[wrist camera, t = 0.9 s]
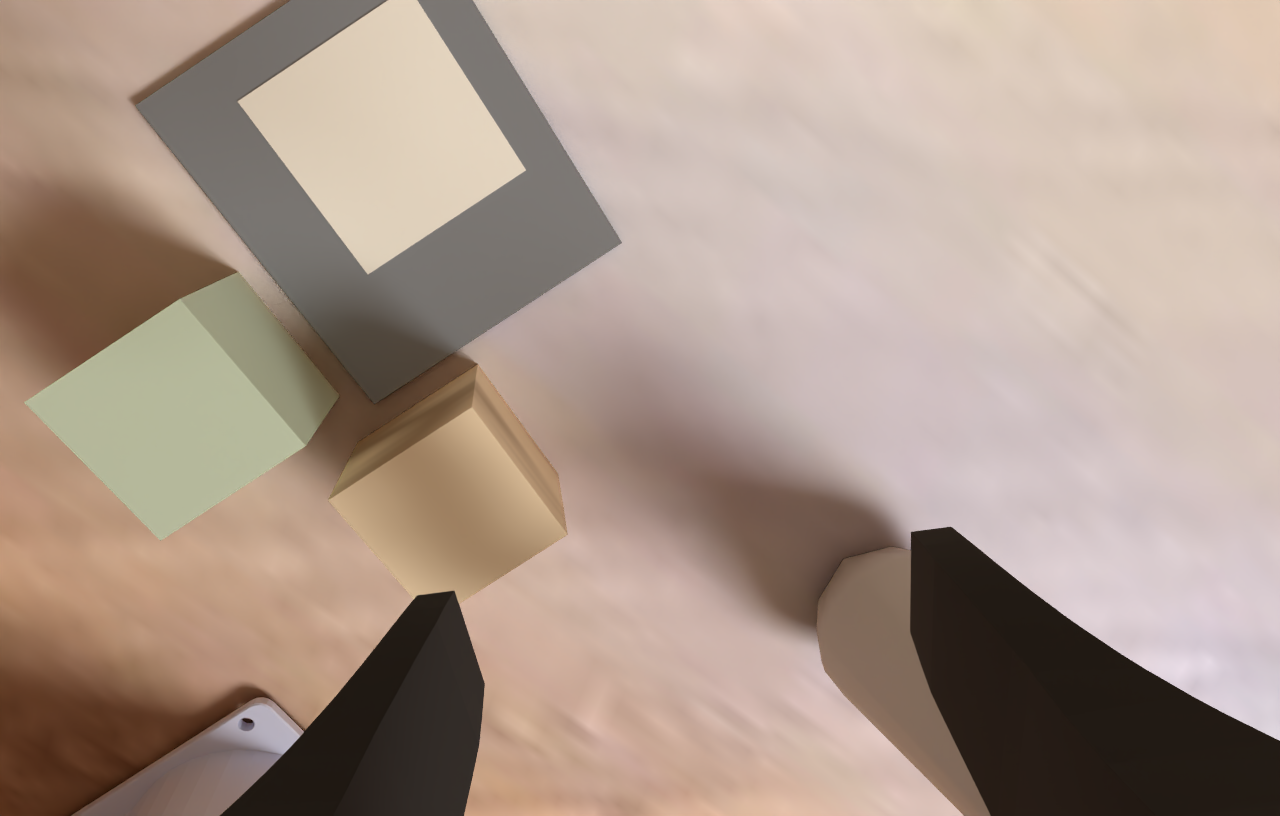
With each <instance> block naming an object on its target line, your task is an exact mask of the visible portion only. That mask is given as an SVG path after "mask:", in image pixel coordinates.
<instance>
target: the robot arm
mask: <svg viewBox="0 0 1280 816" xmlns="http://www.w3.org/2000/svg"><path fill="white" fill-rule="evenodd" d="M910 633H911V636H912V639H913V642H914V645H915V648H916V651H917V654H918V657H919V660H920V663H921V666H922V669H923V672H924V675H925V678H926V680H927V683H928V686H929V689H930V692H931V694H932V696H933V698H934V700H935V702H936V705H937V707H938V709H939V711H940V713H941V715H942V717H943V719H944V721H945V723H946V725H947V727H948V729H949V732H950V734H951V736H952V738H953V740H954V742H955V744H956V746H957V748H958V750H959V752H960V754H961V756H962V758H963V760H964V762H965V764H966V766H967V768H968V770H969V772H970V774H971V777H972V779H973V781H974V783H975V785H976V787H977V789H978V791H979V793H980V795H981V797H982V799H983V801H984V803H985V805H986V807H987V809H988V811H989V813H990V815H991V816H1280V741H1279V740H1277V739H1275V738H1273V737H1271V736H1269V735H1267V734H1265V733H1263V732H1261V731H1259V730H1257V729H1255V728H1253V727H1251V726H1249V725H1247V724H1245V723H1243V722H1240V721H1238V720H1236V719H1234V718H1232V717H1230V716H1228V715H1226V714H1224V713H1222V712H1221V711H1219V710H1217V709H1215V708H1213V707H1211V706H1209V705H1207V704H1206V703H1204V702H1202V701H1200V700H1198V699H1196V698H1194V697H1193V696H1191V695H1189V694H1187V693H1186V692H1184V691H1182V690H1180V689H1179V688H1177V687H1175V686H1173V685H1172V684H1170V683H1168V682H1167V681H1165V680H1163V679H1161V678H1160V677H1158V676H1156V675H1154V674H1153V673H1151V672H1149V671H1147V670H1146V669H1144V668H1142V667H1141V666H1139V665H1138V664H1136V663H1134V662H1133V661H1131V660H1130V659H1128V658H1126V657H1125V656H1123V655H1122V654H1120V653H1118V652H1117V651H1115V650H1114V649H1112V648H1111V647H1110V646H1108V645H1107V644H1105V643H1104V642H1102V641H1101V640H1099V639H1098V638H1096V637H1095V636H1093V635H1092V634H1090V633H1089V632H1087V631H1086V630H1084V629H1083V628H1081V627H1080V626H1078V625H1077V624H1075V623H1074V622H1073V621H1071V620H1070V619H1068V618H1067V617H1066V616H1064V615H1063V614H1062V613H1060V612H1059V611H1058V610H1056V609H1055V608H1054V607H1052V606H1051V605H1050V604H1048V603H1047V602H1045V601H1044V600H1043V599H1041V598H1040V597H1039V596H1037V595H1036V594H1035V593H1033V592H1032V591H1031V590H1030V589H1028V588H1027V587H1026V586H1024V585H1023V584H1022V583H1021V582H1019V581H1018V580H1017V579H1015V578H1014V577H1013V576H1012V575H1010V574H1009V573H1008V572H1007V571H1005V570H1004V569H1003V568H1002V567H1000V566H999V565H998V564H997V563H995V562H994V561H993V560H992V559H991V558H989V557H988V556H987V555H986V554H984V553H983V552H982V551H981V550H979V549H978V548H977V547H976V546H975V545H973V544H972V543H971V542H970V541H968V540H967V539H966V538H965V537H963V536H962V535H961V534H960V533H958V532H957V531H956V530H955V529H953V528H952V527H946V528H938V529H931V530H923V531H915V532H911V590H910ZM484 686H485V683H484V680H483V677H482V674H481V671H480V668H479V665H478V662H477V659H476V656H475V652H474V649H473V646H472V643H471V640H470V637H469V634H468V631H467V628H466V625H465V621H464V618H463V615H462V612H461V609H460V606H459V603H458V600H457V597H456V594H455V591H447V592H439V593H431V594H423V595H417V596H416V597H415V599H414V600H413V601H412V602H411V604H410V605H409V606H408V607H407V608H406V610H405V611H404V612H403V613H402V615H401V616H400V617H399V618H398V620H397V621H396V622H395V623H394V625H393V626H392V627H391V629H390V630H389V631H388V632H387V634H386V635H385V636H384V637H383V639H382V640H381V641H380V643H379V644H378V645H377V646H376V648H375V649H374V650H373V651H372V653H371V654H370V655H369V656H368V658H367V659H366V660H365V661H364V663H363V664H362V665H361V666H360V668H359V669H358V670H357V671H356V672H355V674H354V675H353V676H352V677H351V678H350V680H349V681H348V682H347V683H346V685H345V686H344V687H343V688H342V689H341V691H340V692H339V693H338V694H337V696H336V697H335V698H334V699H333V700H332V701H331V702H330V704H329V705H328V706H327V707H326V708H325V709H324V710H323V711H322V712H321V714H320V715H319V716H318V717H317V718H316V719H315V720H314V721H313V723H312V724H311V725H310V726H309V727H308V728H307V729H306V730H305V731H303V730H302V729H301V728H300V727H299V726H298V725H297V724H296V723H295V722H294V721H293V720H292V719H291V718H290V717H289V716H288V715H287V714H286V713H285V712H284V711H283V710H282V709H281V708H280V707H279V706H277V705H276V704H275V703H274V702H273V701H272V700H270V699H268V698H264V697H259V698H255V699H253V700H251V701H249V702H247V703H246V704H244V705H243V706H241V707H240V708H238V709H237V710H235V711H233V712H232V713H230V714H229V715H227V716H226V717H224V718H222V719H221V720H219V721H218V722H216V723H215V724H213V725H212V726H210V727H208V728H207V729H205V730H204V731H202V732H201V733H199V734H198V735H196V736H194V737H193V738H191V739H190V740H188V741H187V742H185V743H183V744H182V745H180V746H179V747H177V748H176V749H174V750H173V751H171V752H169V753H168V754H166V755H165V756H163V757H162V758H160V759H159V760H157V761H155V762H154V763H152V764H151V765H149V766H148V767H146V768H144V769H143V770H141V771H140V772H138V773H137V774H135V775H134V776H132V777H130V778H129V779H127V780H126V781H124V782H123V783H121V784H119V785H118V786H116V787H115V788H113V789H112V790H110V791H109V792H107V793H105V794H104V795H102V796H101V797H99V798H98V799H96V800H95V801H93V802H91V803H90V804H88V805H87V806H85V807H84V808H82V809H80V810H79V811H77V812H76V813H74V814H73V815H71V816H464V812H465V808H466V803H467V799H468V794H469V790H470V785H471V781H472V776H473V771H474V767H475V762H476V757H477V752H478V748H479V740H480V731H481V721H482V710H483V698H484ZM243 718H250V719H251V720H253V721H254V723H246V722H244V721H243V720H242V719H243Z"/></svg>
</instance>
